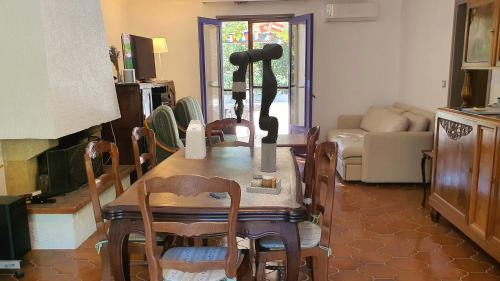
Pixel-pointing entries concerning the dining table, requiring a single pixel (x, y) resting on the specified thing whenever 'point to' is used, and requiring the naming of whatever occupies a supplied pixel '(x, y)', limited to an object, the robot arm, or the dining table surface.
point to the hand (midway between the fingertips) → (239, 123)
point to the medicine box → (219, 195)
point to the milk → (195, 141)
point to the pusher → (274, 182)
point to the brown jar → (267, 181)
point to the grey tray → (265, 190)
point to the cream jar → (257, 181)
